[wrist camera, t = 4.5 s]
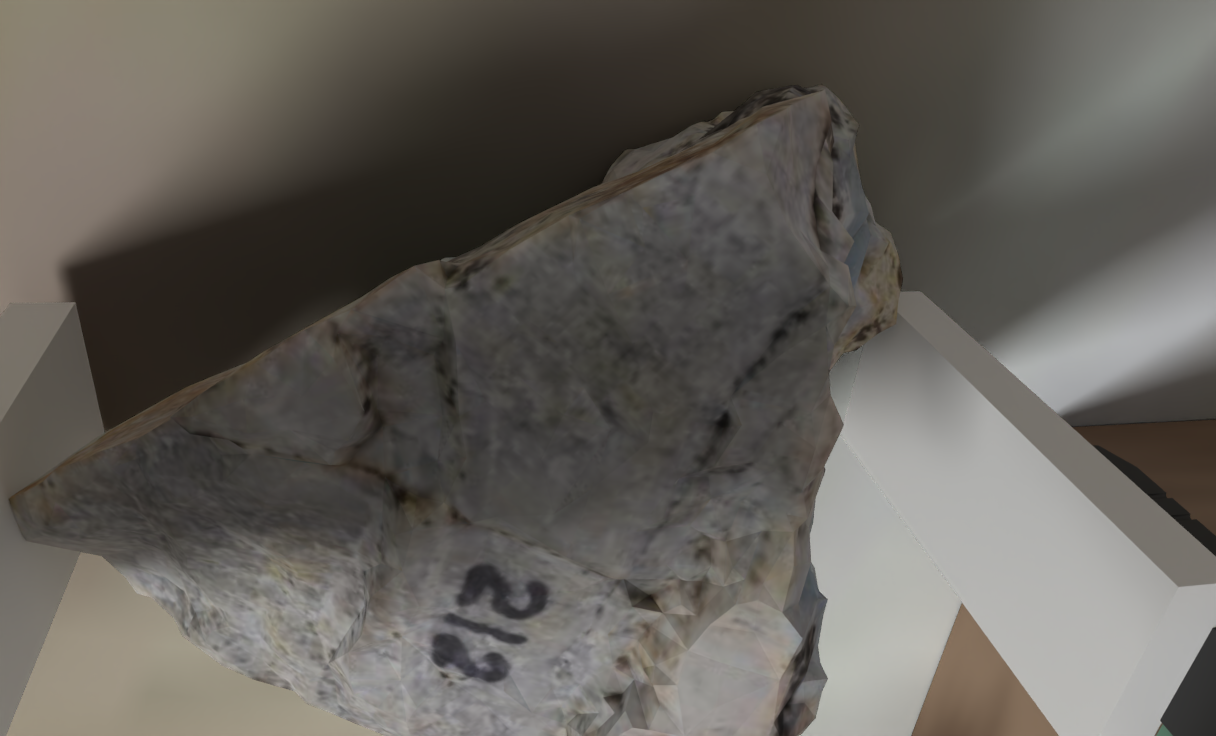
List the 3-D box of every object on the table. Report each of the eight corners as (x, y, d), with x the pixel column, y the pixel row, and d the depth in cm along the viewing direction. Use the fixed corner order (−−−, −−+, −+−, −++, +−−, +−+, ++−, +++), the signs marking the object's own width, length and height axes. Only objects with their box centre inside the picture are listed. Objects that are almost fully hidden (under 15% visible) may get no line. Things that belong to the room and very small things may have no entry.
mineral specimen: (573, 305, 20) (393, -199, 12) (965, 400, 16) (1056, -220, 9) (301, 732, 15) (-267, 349, 8) (769, 991, 12) (601, 771, 4)
